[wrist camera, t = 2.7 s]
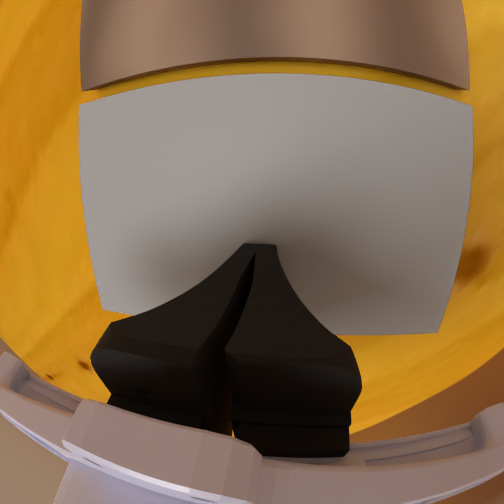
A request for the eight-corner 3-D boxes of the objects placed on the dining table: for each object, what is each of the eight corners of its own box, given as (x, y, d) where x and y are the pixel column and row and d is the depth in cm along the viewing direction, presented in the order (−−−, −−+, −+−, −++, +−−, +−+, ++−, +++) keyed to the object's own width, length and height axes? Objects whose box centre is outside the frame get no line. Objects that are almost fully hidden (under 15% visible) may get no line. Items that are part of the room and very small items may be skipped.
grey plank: (458, 108, 9) (472, 106, 8) (429, 320, 12) (437, 332, 11) (93, 107, 11) (79, 105, 10) (113, 299, 15) (102, 309, 14)
